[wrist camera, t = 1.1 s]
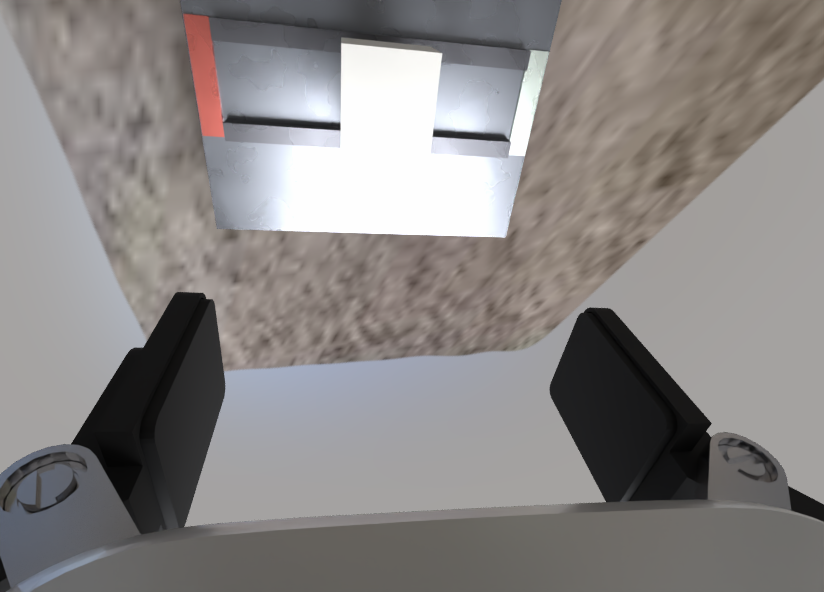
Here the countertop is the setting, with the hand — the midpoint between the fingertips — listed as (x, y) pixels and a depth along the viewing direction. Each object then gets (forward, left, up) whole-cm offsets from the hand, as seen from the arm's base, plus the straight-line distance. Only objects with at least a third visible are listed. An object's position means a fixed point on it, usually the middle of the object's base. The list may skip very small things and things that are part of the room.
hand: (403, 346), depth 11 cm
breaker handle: (-3, 0, -19) cm, 19 cm away
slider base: (-3, 0, -25) cm, 26 cm away
